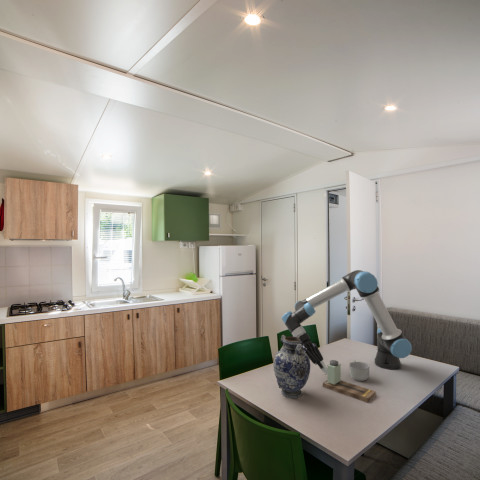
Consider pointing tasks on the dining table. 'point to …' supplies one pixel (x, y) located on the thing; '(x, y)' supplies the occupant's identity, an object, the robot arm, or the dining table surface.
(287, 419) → the dining table surface
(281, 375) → the decorative vase
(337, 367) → the fader tab
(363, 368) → the teacup
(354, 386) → the fader track
